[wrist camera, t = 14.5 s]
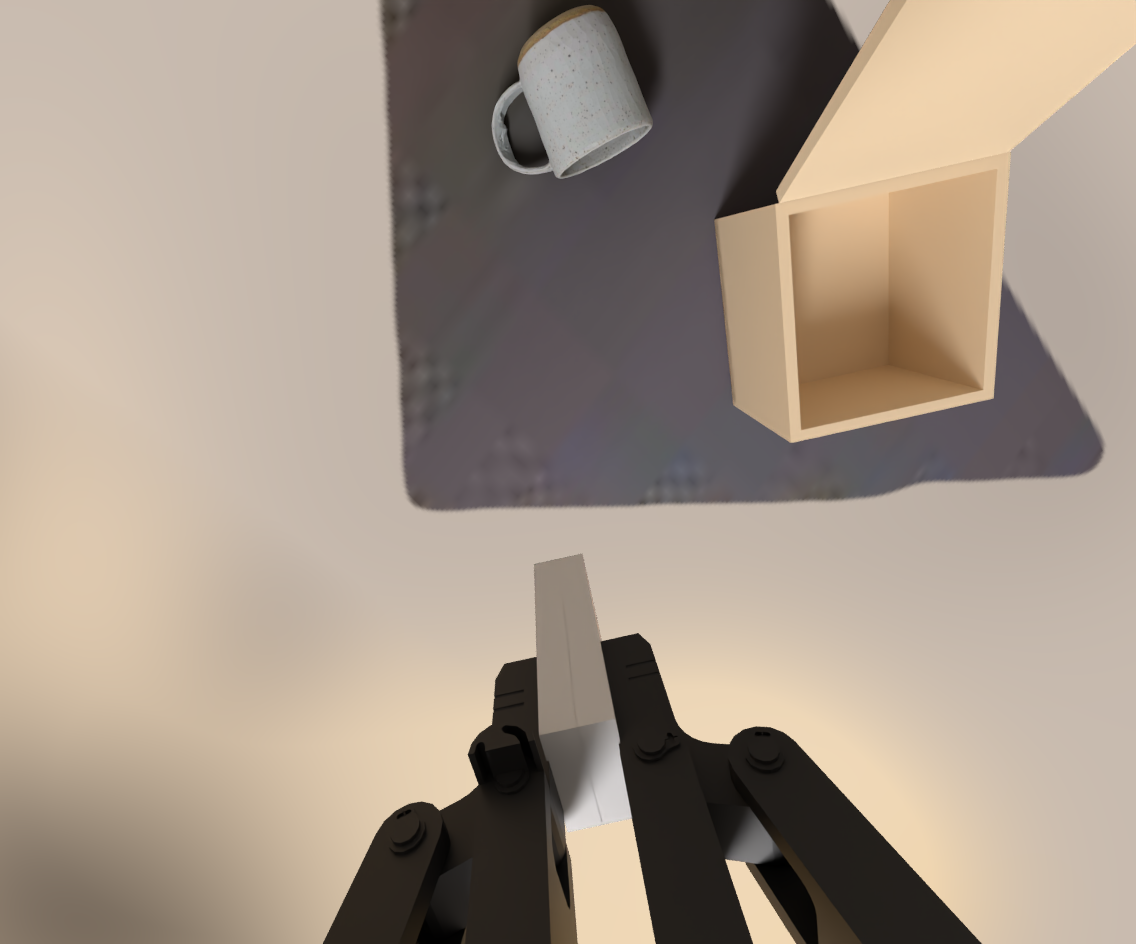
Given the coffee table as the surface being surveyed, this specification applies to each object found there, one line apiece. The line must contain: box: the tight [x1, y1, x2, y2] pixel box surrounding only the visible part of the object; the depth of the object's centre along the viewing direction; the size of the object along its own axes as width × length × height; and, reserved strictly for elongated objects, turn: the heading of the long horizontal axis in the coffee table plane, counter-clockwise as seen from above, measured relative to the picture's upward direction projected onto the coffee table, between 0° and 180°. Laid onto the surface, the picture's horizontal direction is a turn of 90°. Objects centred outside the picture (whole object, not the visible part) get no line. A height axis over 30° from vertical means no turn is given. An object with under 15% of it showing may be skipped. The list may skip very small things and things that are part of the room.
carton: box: [714, 152, 1011, 443], centre depth 43 cm, size 16×15×12 cm
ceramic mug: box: [492, 5, 653, 179], centre depth 39 cm, size 11×8×8 cm
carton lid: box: [776, 0, 1136, 203], centre depth 24 cm, size 21×15×1 cm
